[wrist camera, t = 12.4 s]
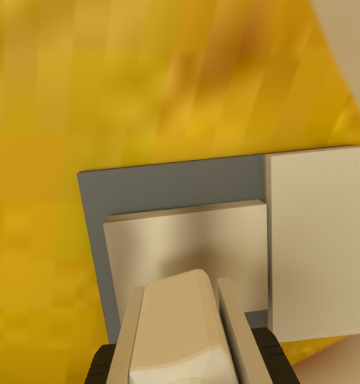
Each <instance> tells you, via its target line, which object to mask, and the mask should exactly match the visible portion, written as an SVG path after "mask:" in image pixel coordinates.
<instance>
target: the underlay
mask: <svg viewBox="0 0 360 384" xmlns="http://www.w3.org/2000/svg"><path fill="white" fill-rule="evenodd" d="M77 178H78V183H79V188H80V193H81V198H82V204H83V209H84V214H85V219H86V224H87V230H88V235H89V240H90V245H91V250H92V256H93V261H94V266H95V271H96V276H97V282H98V287H99V292H100V297H101V302H102V308H103V313H104V318H105V323H106V328H107V334H108V339H109V344H117V341H118V337H119V333H120V330H121V324H120V318H119V312H118V306H117V301H116V295H115V289H114V284H113V278H112V272H111V267H110V261H109V255H108V250H107V244H106V238H105V233H104V227H103V222H104V221H105V219H106V218H107V216H114V215H123V214H131V213H140V212H149V211H158V210H166V209H175V208H184V207H193V206H201V205H210V204H219V203H228V202H236V201H245V200H254V199H259V200H260V201H262V202H264V203H265V204H267V261H268V309H266V310H259V311H252V312H244V314H245V317H246V319H247V322H248V324H249V327H250V329H252V328H261V327H267V328H268V329H269V330H270V331H271V332H272V333H273V334H274V335H275V336H276V338H277V340H278V342H279V343H281V342H290V341H299V340H308V339H317V338H326V337H334V336H343V335H352V334H360V145H343V146H333V147H323V148H313V149H303V150H293V151H282V152H272V153H262V154H252V155H242V156H232V157H222V158H212V159H202V160H192V161H182V162H172V163H162V164H152V165H142V166H132V167H122V168H111V169H101V170H91V171H81V172H79V173H77Z"/></svg>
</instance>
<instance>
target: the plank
mask: <svg viewBox="0 0 360 384" xmlns="http://www.w3.org/2000/svg"><path fill="white" fill-rule="evenodd" d="M103 227H104V233H105V238H106V244H107V250H108V255H109V261H110V267H111V272H112V278H113V284H114V289H115V295H116V301H117V306H118V312H119V318H120V324H121V326H122V322H123V319H124V315H125V311H126V307H127V304H128V300H129V296H130V292H131V289H132V287H139V286H144V288H145V287H146V286H147V285H148V284H150V283H151V282H153V281H157V280H160V279H164V278H167V277H170V276H174V275H177V274H181V273H184V272H188V271H191V270H194V269H202V270H203V271H204V272H205V273H206V274H207V275H208V276H209V279H210V283H211V286H212V289H213V292H214V296H215V299H216V302H217V305H218V308H219V300H218V286H217V278H225V277H229V278H230V280H231V283H232V285H233V287H234V290H235V292H236V295H237V297H238V300H239V302H240V305H241V307H242V309H243V312H252V311H259V310H266V309H268V261H267V204H265V203H264V202H262V201H260V200H259V199H254V200H245V201H236V202H228V203H219V204H210V205H201V206H193V207H184V208H175V209H166V210H158V211H149V212H140V213H131V214H123V215H114V216H107V218H106V219H105V221H104V222H103Z"/></svg>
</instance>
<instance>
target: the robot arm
mask: <svg viewBox="0 0 360 384" xmlns="http://www.w3.org/2000/svg"><path fill="white" fill-rule="evenodd" d="M217 286H218V300H219V312H220V315H221V319H222V322H223V326H224V330H225V333H226V337H227V340H228V344H229V348H230V351H231V355H232V359H233V362H234V366H235V370H236V373H237V377H238V380H239V384H300V383H299V381H298V379H297V377H296V375H295V373H294V371H293V369H292V367H291V365H290V363H289V361H288V359H287V357H286V356H285V355H284V352H283V350H282V348H281V347H280V344H279V342H278V340H277V338H276V336H275V335H274V334H273V333H272V332H271V331H270V330H269V329H268V328H267V327H261V328H252V329H250V327H249V324H248V322H247V319H246V317H245V314H244V312H243V309H242V307H241V305H240V302H239V300H238V297H237V295H236V292H235V290H234V287H233V285H232V283H231V280H230V278H229V277H225V278H217ZM144 289H145V288H144V286H139V287H132V289H131V292H130V296H129V300H128V304H127V307H126V311H125V315H124V319H123V322H122V326H121V330H120V333H119V337H118V341H117V344H108V345H102V346H101V347H100V348H99V350H98V351H97V352H96V354H95V355H94V358H93V361H92V363H91V368H90V369H89V372H88V375H87V377H86V380H85V383H84V384H129V371H130V365H131V360H132V354H133V349H134V343H135V338H136V332H137V327H138V321H139V316H140V311H141V305H142V300H143V294H144Z"/></svg>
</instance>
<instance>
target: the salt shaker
mask: <svg viewBox="0 0 360 384" xmlns="http://www.w3.org/2000/svg"><path fill="white" fill-rule="evenodd" d="M129 384H239V380H238V377H237V373H236V370H235V366H234V362H233V359H232V355H231V351H230V348H229V344H228V340H227V337H226V333H225V330H224V326H223V322H222V319H221V315H220V312H219V308H218V305H217V302H216V299H215V296H214V292H213V289H212V286H211V283H210V279H209V276H208V275H207V274H206V273H205V272H204V271H203V270H202V269H194V270H191V271H188V272H184V273H181V274H177V275H174V276H170V277H167V278H164V279H160V280H157V281H153V282H151V283H150V284H148V285H147V286H146V287H145V289H144V294H143V300H142V305H141V311H140V316H139V321H138V327H137V332H136V338H135V343H134V349H133V354H132V360H131V365H130V371H129Z"/></svg>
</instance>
